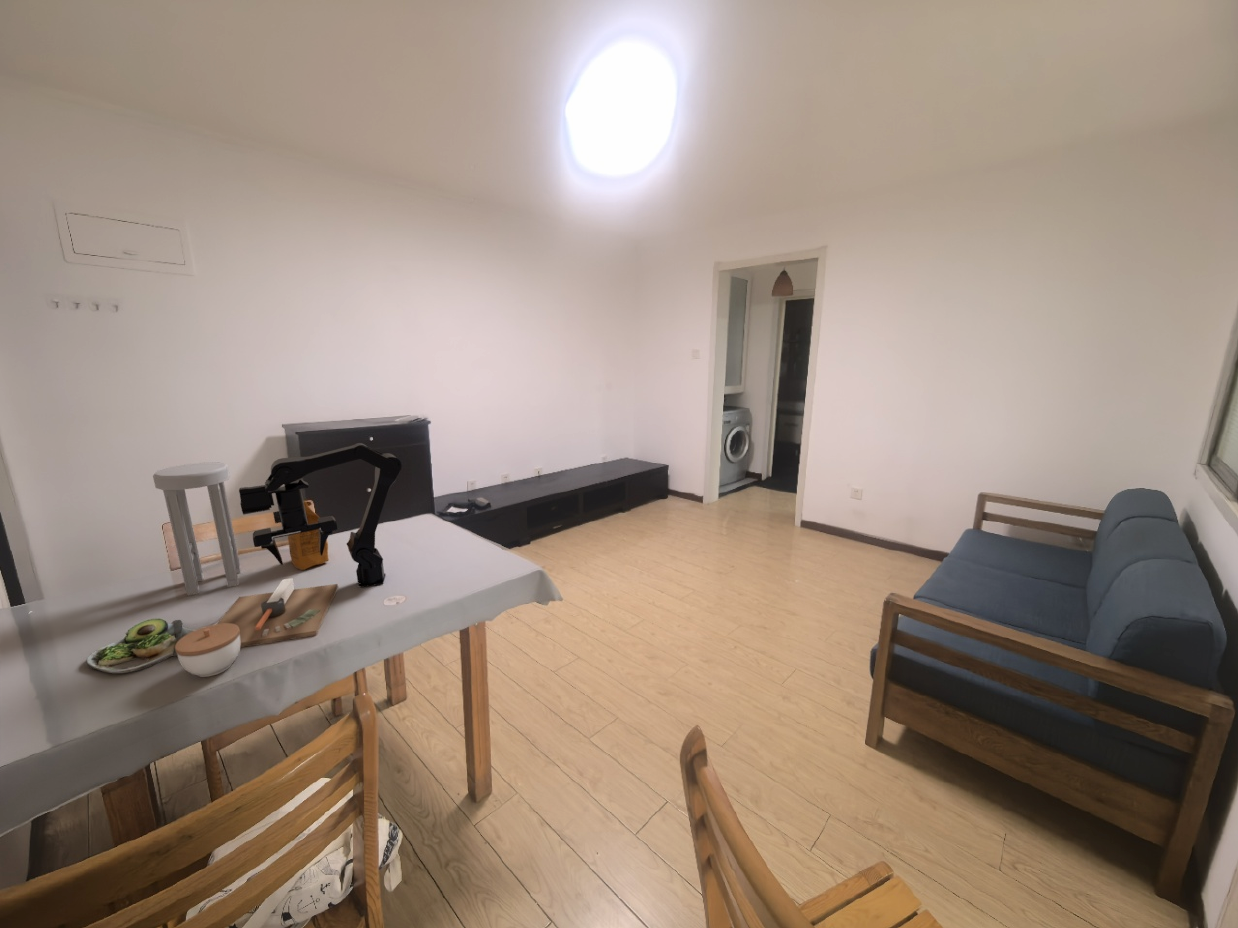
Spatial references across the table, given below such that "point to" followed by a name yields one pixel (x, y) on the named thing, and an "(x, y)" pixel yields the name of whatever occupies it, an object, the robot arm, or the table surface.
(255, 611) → the cutting board
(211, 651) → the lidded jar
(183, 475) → the stool
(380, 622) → the table surface
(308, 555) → the coffee package
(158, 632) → the salad plate
